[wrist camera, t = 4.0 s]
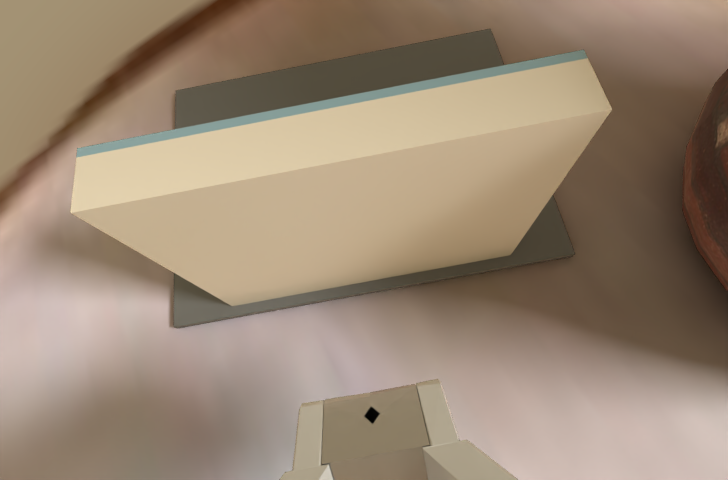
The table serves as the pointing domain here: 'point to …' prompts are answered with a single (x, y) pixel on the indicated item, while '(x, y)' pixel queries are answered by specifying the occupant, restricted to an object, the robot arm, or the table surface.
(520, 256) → the mat
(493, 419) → the table surface
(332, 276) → the tile
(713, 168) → the pottery
